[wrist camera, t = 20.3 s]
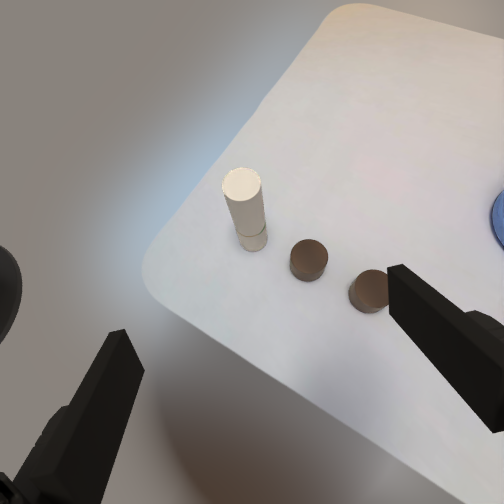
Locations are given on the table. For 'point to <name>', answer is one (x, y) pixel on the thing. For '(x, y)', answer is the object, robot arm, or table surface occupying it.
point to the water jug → (499, 217)
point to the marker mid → (308, 260)
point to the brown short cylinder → (369, 291)
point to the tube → (246, 207)
